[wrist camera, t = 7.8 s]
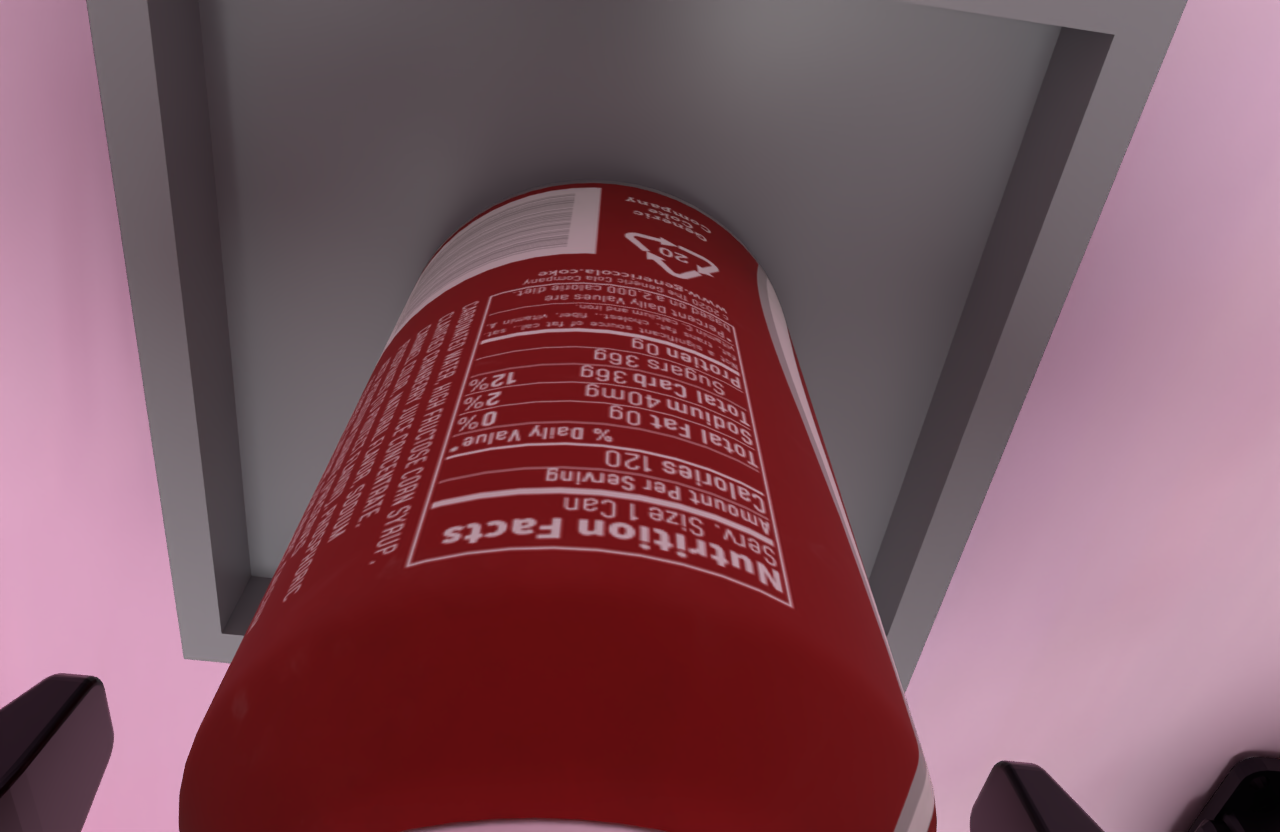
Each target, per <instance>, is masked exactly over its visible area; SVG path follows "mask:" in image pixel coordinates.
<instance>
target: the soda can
mask: <svg viewBox="0 0 1280 832" xmlns="http://www.w3.org/2000/svg"><path fill="white" fill-rule="evenodd" d="M936 826H937V818H936V808H935V799H934V791H933V786H932V783H931V779H930V775H929V772H928V768H927V764H926V761H925V757H924V754H923V751H922V748H921V745H920V741H919V738H918V735H917V732H916V729H915V726H914V723H913V720H912V716H911V713H910V710H909V707H908V704H907V701H906V698H905V694H904V691H903V688H902V685H901V682H900V679H899V676H898V672H897V669H896V666H895V663H894V660H893V657H892V654H891V650H890V647H889V644H888V641H887V638H886V635H885V632H884V628H883V625H882V622H881V619H880V616H879V613H878V610H877V606H876V603H875V600H874V597H873V594H872V591H871V588H870V584H869V581H868V578H867V575H866V572H865V569H864V566H863V563H862V559H861V556H860V553H859V550H858V547H857V544H856V541H855V537H854V534H853V531H852V528H851V525H850V522H849V519H848V515H847V512H846V509H845V506H844V503H843V500H842V497H841V493H840V490H839V487H838V484H837V481H836V478H835V475H834V471H833V468H832V465H831V462H830V459H829V456H828V453H827V449H826V446H825V443H824V440H823V437H822V434H821V431H820V428H819V424H818V421H817V418H816V415H815V412H814V409H813V406H812V402H811V399H810V396H809V393H808V390H807V387H806V384H805V380H804V377H803V374H802V371H801V368H800V365H799V362H798V358H797V355H796V352H795V349H794V346H793V343H792V340H791V336H790V333H789V330H788V327H787V324H786V321H785V318H784V314H783V311H782V308H781V305H780V303H779V300H778V298H777V295H776V293H775V290H774V288H773V286H772V284H771V282H770V281H769V279H768V277H767V275H766V273H765V271H764V270H763V269H762V267H761V266H760V264H759V263H758V261H757V260H756V258H755V257H754V256H753V255H752V253H751V252H750V251H749V250H748V249H747V248H746V246H745V245H744V244H743V243H742V242H741V241H740V240H739V239H738V238H737V237H736V236H735V235H734V234H733V233H732V232H731V231H729V230H728V229H727V228H726V227H725V226H723V225H722V224H721V223H719V222H718V221H717V220H716V219H714V218H713V217H712V216H710V215H708V214H707V213H705V212H703V211H702V210H700V209H699V208H697V207H695V206H693V205H691V204H689V203H687V202H685V201H683V200H681V199H679V198H677V197H675V196H672V195H669V194H666V193H664V192H661V191H658V190H655V189H651V188H648V187H644V186H640V185H636V184H630V183H624V182H618V181H605V180H576V181H567V182H559V183H552V184H548V185H544V186H539V187H535V188H531V189H528V190H525V191H523V192H520V193H517V194H514V195H511V196H509V197H507V198H505V199H503V200H500V201H498V202H496V203H494V204H492V205H491V206H489V207H487V208H486V209H484V210H482V211H480V212H479V213H477V214H476V215H474V216H473V217H472V218H470V219H469V220H468V221H466V222H465V223H464V224H462V225H461V226H460V227H459V228H458V229H457V230H456V231H455V232H454V233H452V234H451V235H450V236H449V237H448V238H447V239H446V240H445V242H444V243H443V244H442V245H441V246H440V247H439V248H438V250H437V251H436V252H435V253H434V255H433V256H432V258H431V259H430V261H429V262H428V263H427V265H426V266H425V268H424V270H423V271H422V273H421V275H420V277H419V279H418V281H417V283H416V284H415V287H414V289H413V291H412V293H411V295H410V297H409V299H408V301H407V303H406V305H405V307H404V309H403V311H402V313H401V315H400V317H399V319H398V321H397V323H396V325H395V328H394V330H393V332H392V334H391V336H390V338H389V340H388V342H387V344H386V346H385V348H384V350H383V352H382V354H381V356H380V358H379V360H378V362H377V364H376V367H375V369H374V371H373V373H372V375H371V377H370V379H369V381H368V383H367V385H366V387H365V389H364V391H363V393H362V395H361V397H360V399H359V401H358V403H357V405H356V408H355V410H354V412H353V414H352V416H351V418H350V420H349V422H348V424H347V426H346V428H345V430H344V432H343V434H342V436H341V438H340V440H339V442H338V444H337V447H336V449H335V451H334V453H333V455H332V457H331V459H330V461H329V463H328V465H327V467H326V469H325V471H324V473H323V475H322V477H321V479H320V481H319V483H318V485H317V488H316V490H315V492H314V494H313V496H312V498H311V500H310V502H309V504H308V506H307V508H306V510H305V512H304V514H303V516H302V518H301V520H300V522H299V524H298V527H297V529H296V531H295V533H294V535H293V537H292V539H291V541H290V543H289V545H288V547H287V549H286V551H285V553H284V555H283V557H282V559H281V561H280V563H279V565H278V568H277V570H276V572H275V574H274V576H273V578H272V580H271V582H270V584H269V586H268V588H267V590H266V592H265V594H264V596H263V598H262V600H261V602H260V604H259V607H258V609H257V611H256V613H255V615H254V617H253V619H252V621H251V623H250V625H249V627H248V629H247V631H246V633H245V635H244V637H243V639H242V641H241V643H240V645H239V648H238V650H237V652H236V654H235V656H234V658H233V660H232V662H231V664H230V666H229V668H228V670H227V672H226V674H225V676H224V678H223V680H222V682H221V684H220V687H219V689H218V691H217V693H216V695H215V697H214V699H213V701H212V703H211V705H210V707H209V709H208V711H207V713H206V715H205V717H204V719H203V721H202V723H201V725H200V728H199V730H198V732H197V734H196V737H195V739H194V742H193V745H192V748H191V750H190V753H189V756H188V758H187V761H186V764H185V769H184V774H183V779H182V784H181V789H180V795H179V831H180V832H936Z"/></svg>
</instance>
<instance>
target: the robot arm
mask: <svg viewBox="0 0 1280 832" xmlns="http://www.w3.org/2000/svg"><path fill="white" fill-rule="evenodd" d="M113 742H114V732H113V726H112V722H111V717H110V712H109V707H108V703H107V698H106V693H105V689H104V686H103V683H102V682H101V680H100V679H99V678H97V677H94V676H88V675H77V674H66V673H59V674H54V675H52V676H49V677H47V678H45V679H44V680H42V681H41V682H39V683H38V684H36V685H35V686H34V687H32V688H31V689H29V690H28V691H26V692H25V693H23V694H22V695H20V696H19V697H18V698H16V699H15V700H13V701H12V702H10V703H9V704H7V705H6V706H4V707H3V708H2V709H0V832H81V831H82V828H83V825H84V823H85V820H86V818H87V815H88V813H89V810H90V808H91V805H92V803H93V800H94V797H95V795H96V792H97V790H98V787H99V785H100V782H101V780H102V777H103V774H104V772H105V769H106V767H107V764H108V762H109V759H110V756H111V752H112V749H113ZM970 832H1104V831H1103V830H1102V829H1101V828H1100V827H1099V826H1098V825H1097V824H1096V823H1095V821H1094V820H1093V819H1092V818H1091V817H1090V816H1089V815H1088V814H1087V813H1086V812H1085V811H1084V810H1083V809H1082V808H1081V807H1080V806H1079V805H1078V804H1077V803H1076V802H1075V801H1074V800H1073V799H1072V798H1071V797H1070V796H1069V795H1068V794H1067V793H1066V792H1065V791H1064V789H1063V788H1062V787H1061V786H1060V785H1059V784H1058V783H1057V782H1056V781H1055V780H1054V779H1053V778H1052V777H1051V776H1050V775H1049V774H1048V773H1047V772H1046V771H1045V770H1044V769H1042V768H1041V767H1040V766H1038V765H1036V764H1032V763H1025V762H1014V761H1000V762H999V763H997V764H996V765H994V767H993V768H992V770H991V772H990V774H989V776H988V778H987V780H986V782H985V784H984V786H983V788H982V790H981V792H980V794H979V796H978V798H977V800H976V802H975V804H974V806H973V808H972V811H971V816H970ZM1188 832H1280V759H1274V758H1263V757H1253V758H1249V759H1245V760H1243V761H1241V762H1239V763H1237V764H1236V765H1235V766H1234V767H1233V768H1232V770H1231V771H1230V773H1229V774H1228V775H1227V777H1226V778H1225V780H1224V781H1223V782H1222V784H1221V785H1220V787H1219V788H1218V790H1217V791H1216V792H1215V794H1214V795H1213V797H1212V798H1211V800H1210V801H1209V802H1208V804H1207V805H1206V807H1205V808H1204V809H1203V811H1202V812H1201V814H1200V815H1199V817H1198V818H1197V819H1196V821H1195V822H1194V824H1193V825H1192V826H1191V828H1190V829H1189V831H1188Z"/></svg>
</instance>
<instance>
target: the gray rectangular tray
mask: <svg viewBox="0 0 1280 832" xmlns="http://www.w3.org/2000/svg"><path fill="white" fill-rule="evenodd" d="M1187 1H1188V0H86V2H87V9H88V15H89V22H90V29H91V36H92V42H93V49H94V56H95V63H96V69H97V76H98V83H99V90H100V96H101V103H102V110H103V117H104V123H105V130H106V137H107V143H108V150H109V157H110V164H111V170H112V177H113V184H114V191H115V197H116V204H117V211H118V218H119V224H120V231H121V238H122V245H123V251H124V258H125V265H126V272H127V278H128V285H129V292H130V299H131V305H132V312H133V319H134V326H135V332H136V339H137V346H138V352H139V359H140V366H141V373H142V379H143V386H144V393H145V400H146V406H147V413H148V420H149V427H150V433H151V440H152V447H153V454H154V460H155V467H156V474H157V481H158V487H159V494H160V501H161V508H162V514H163V521H164V528H165V535H166V541H167V548H168V555H169V561H170V568H171V575H172V582H173V588H174V595H175V602H176V609H177V615H178V622H179V629H180V636H181V642H182V649H183V656H184V659H190V660H201V661H212V662H223V663H231V662H232V660H233V658H234V656H235V654H236V652H237V650H238V648H239V645H240V643H241V641H242V639H243V637H244V635H245V633H246V631H247V629H248V627H249V625H250V623H251V621H252V619H253V617H254V615H255V613H256V611H257V609H258V607H259V604H260V602H261V600H262V598H263V596H264V594H265V592H266V590H267V588H268V586H269V584H270V582H271V580H272V578H273V576H274V574H275V572H276V570H277V568H278V565H279V563H280V561H281V559H282V557H283V555H284V553H285V551H286V549H287V547H288V545H289V543H290V541H291V539H292V537H293V535H294V533H295V531H296V529H297V527H298V524H299V522H300V520H301V518H302V516H303V514H304V512H305V510H306V508H307V506H308V504H309V502H310V500H311V498H312V496H313V494H314V492H315V490H316V488H317V485H318V483H319V481H320V479H321V477H322V475H323V473H324V471H325V469H326V467H327V465H328V463H329V461H330V459H331V457H332V455H333V453H334V451H335V449H336V447H337V444H338V442H339V440H340V438H341V436H342V434H343V432H344V430H345V428H346V426H347V424H348V422H349V420H350V418H351V416H352V414H353V412H354V410H355V408H356V405H357V403H358V401H359V399H360V397H361V395H362V393H363V391H364V389H365V387H366V385H367V383H368V381H369V379H370V377H371V375H372V373H373V371H374V369H375V367H376V364H377V362H378V360H379V358H380V356H381V354H382V352H383V350H384V348H385V346H386V344H387V342H388V340H389V338H390V336H391V334H392V332H393V330H394V328H395V325H396V323H397V321H398V319H399V317H400V315H401V313H402V311H403V309H404V307H405V305H406V303H407V301H408V299H409V297H410V295H411V293H412V291H413V289H414V287H415V284H416V283H417V281H418V279H419V277H420V275H421V273H422V271H423V270H424V268H425V266H426V265H427V263H428V262H429V261H430V259H431V258H432V256H433V255H434V253H435V252H436V251H437V250H438V248H439V247H440V246H441V245H442V244H443V243H444V242H445V240H446V239H447V238H448V237H449V236H450V235H451V234H452V233H454V232H455V231H456V230H457V229H458V228H459V227H460V226H461V225H462V224H464V223H465V222H466V221H468V220H469V219H470V218H472V217H473V216H474V215H476V214H477V213H479V212H480V211H482V210H484V209H486V208H487V207H489V206H491V205H492V204H494V203H496V202H498V201H500V200H503V199H505V198H507V197H509V196H511V195H514V194H517V193H520V192H523V191H525V190H528V189H531V188H535V187H539V186H544V185H548V184H552V183H559V182H567V181H576V180H605V181H618V182H624V183H630V184H636V185H640V186H644V187H648V188H651V189H655V190H658V191H661V192H664V193H666V194H669V195H672V196H675V197H677V198H679V199H681V200H683V201H685V202H687V203H689V204H691V205H693V206H695V207H697V208H699V209H700V210H702V211H703V212H705V213H707V214H708V215H710V216H712V217H713V218H714V219H716V220H717V221H718V222H719V223H721V224H722V225H723V226H725V227H726V228H727V229H728V230H729V231H731V232H732V233H733V234H734V235H735V236H736V237H737V238H738V239H739V240H740V241H741V242H742V243H743V244H744V245H745V246H746V248H747V249H748V250H749V251H750V252H751V253H752V255H753V256H754V257H755V258H756V260H757V261H758V263H759V264H760V266H761V267H762V269H763V270H764V271H765V273H766V275H767V277H768V279H769V281H770V282H771V284H772V286H773V288H774V290H775V293H776V295H777V298H778V300H779V303H780V305H781V308H782V311H783V314H784V318H785V321H786V324H787V327H788V330H789V333H790V336H791V340H792V343H793V346H794V349H795V352H796V355H797V358H798V362H799V365H800V368H801V371H802V374H803V377H804V380H805V384H806V387H807V390H808V393H809V396H810V399H811V402H812V406H813V409H814V412H815V415H816V418H817V421H818V424H819V428H820V431H821V434H822V437H823V440H824V443H825V446H826V449H827V453H828V456H829V459H830V462H831V465H832V468H833V471H834V475H835V478H836V481H837V484H838V487H839V490H840V493H841V497H842V500H843V503H844V506H845V509H846V512H847V515H848V519H849V522H850V525H851V528H852V531H853V534H854V537H855V541H856V544H857V547H858V550H859V553H860V556H861V559H862V563H863V566H864V569H865V572H866V575H867V578H868V581H869V584H870V588H871V591H872V594H873V597H874V600H875V603H876V606H877V610H878V613H879V616H880V619H881V622H882V625H883V628H884V632H885V635H886V638H887V641H888V644H889V647H890V650H891V654H892V657H893V660H894V663H895V666H896V669H897V672H898V676H899V679H900V682H901V685H902V688H903V691H904V694H905V691H906V689H907V687H908V684H909V682H910V679H911V677H912V674H913V672H914V669H915V667H916V665H917V662H918V660H919V657H920V655H921V652H922V650H923V647H924V645H925V642H926V640H927V638H928V635H929V633H930V630H931V628H932V625H933V623H934V620H935V618H936V616H937V613H938V611H939V608H940V606H941V603H942V601H943V598H944V596H945V593H946V591H947V589H948V586H949V584H950V581H951V579H952V576H953V574H954V571H955V569H956V567H957V564H958V562H959V559H960V557H961V554H962V552H963V549H964V547H965V544H966V542H967V540H968V537H969V535H970V532H971V530H972V527H973V525H974V522H975V520H976V518H977V515H978V513H979V510H980V508H981V505H982V503H983V500H984V498H985V495H986V493H987V491H988V488H989V486H990V483H991V481H992V478H993V476H994V473H995V471H996V469H997V466H998V464H999V461H1000V459H1001V456H1002V454H1003V451H1004V449H1005V447H1006V444H1007V442H1008V439H1009V437H1010V434H1011V432H1012V429H1013V427H1014V424H1015V422H1016V420H1017V417H1018V415H1019V412H1020V410H1021V407H1022V405H1023V402H1024V400H1025V398H1026V395H1027V393H1028V390H1029V388H1030V385H1031V383H1032V380H1033V378H1034V375H1035V373H1036V371H1037V368H1038V366H1039V363H1040V361H1041V358H1042V356H1043V353H1044V351H1045V349H1046V346H1047V344H1048V341H1049V339H1050V336H1051V334H1052V331H1053V329H1054V326H1055V324H1056V322H1057V319H1058V317H1059V314H1060V312H1061V309H1062V307H1063V304H1064V302H1065V300H1066V297H1067V295H1068V292H1069V290H1070V287H1071V285H1072V282H1073V280H1074V277H1075V275H1076V273H1077V270H1078V268H1079V265H1080V263H1081V260H1082V258H1083V255H1084V253H1085V251H1086V248H1087V246H1088V243H1089V241H1090V238H1091V236H1092V233H1093V231H1094V229H1095V226H1096V224H1097V221H1098V219H1099V216H1100V214H1101V211H1102V209H1103V206H1104V204H1105V202H1106V199H1107V197H1108V194H1109V192H1110V189H1111V187H1112V184H1113V182H1114V180H1115V177H1116V175H1117V172H1118V170H1119V167H1120V165H1121V162H1122V160H1123V157H1124V155H1125V153H1126V150H1127V148H1128V145H1129V143H1130V140H1131V138H1132V135H1133V133H1134V131H1135V128H1136V126H1137V123H1138V121H1139V118H1140V116H1141V113H1142V111H1143V108H1144V106H1145V104H1146V101H1147V99H1148V96H1149V94H1150V91H1151V89H1152V86H1153V84H1154V82H1155V79H1156V77H1157V74H1158V72H1159V69H1160V67H1161V64H1162V62H1163V59H1164V57H1165V55H1166V52H1167V50H1168V47H1169V45H1170V42H1171V40H1172V37H1173V35H1174V33H1175V30H1176V28H1177V25H1178V23H1179V20H1180V18H1181V15H1182V13H1183V11H1184V8H1185V6H1186V3H1187Z"/></svg>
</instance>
